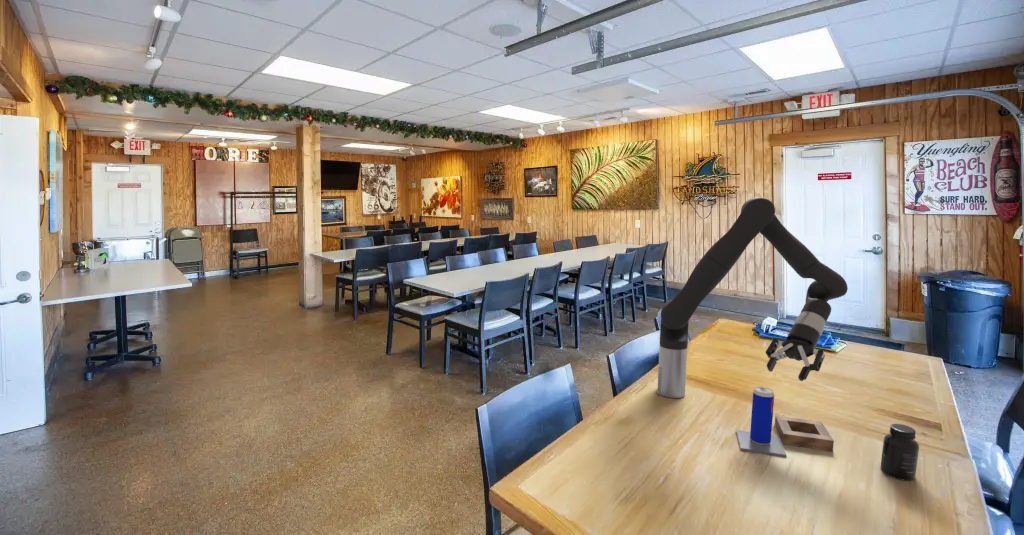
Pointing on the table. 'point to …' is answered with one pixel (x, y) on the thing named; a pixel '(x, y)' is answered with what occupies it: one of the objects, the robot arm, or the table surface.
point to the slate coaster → (748, 445)
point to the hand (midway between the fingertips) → (784, 374)
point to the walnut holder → (790, 437)
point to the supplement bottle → (900, 452)
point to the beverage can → (762, 415)
